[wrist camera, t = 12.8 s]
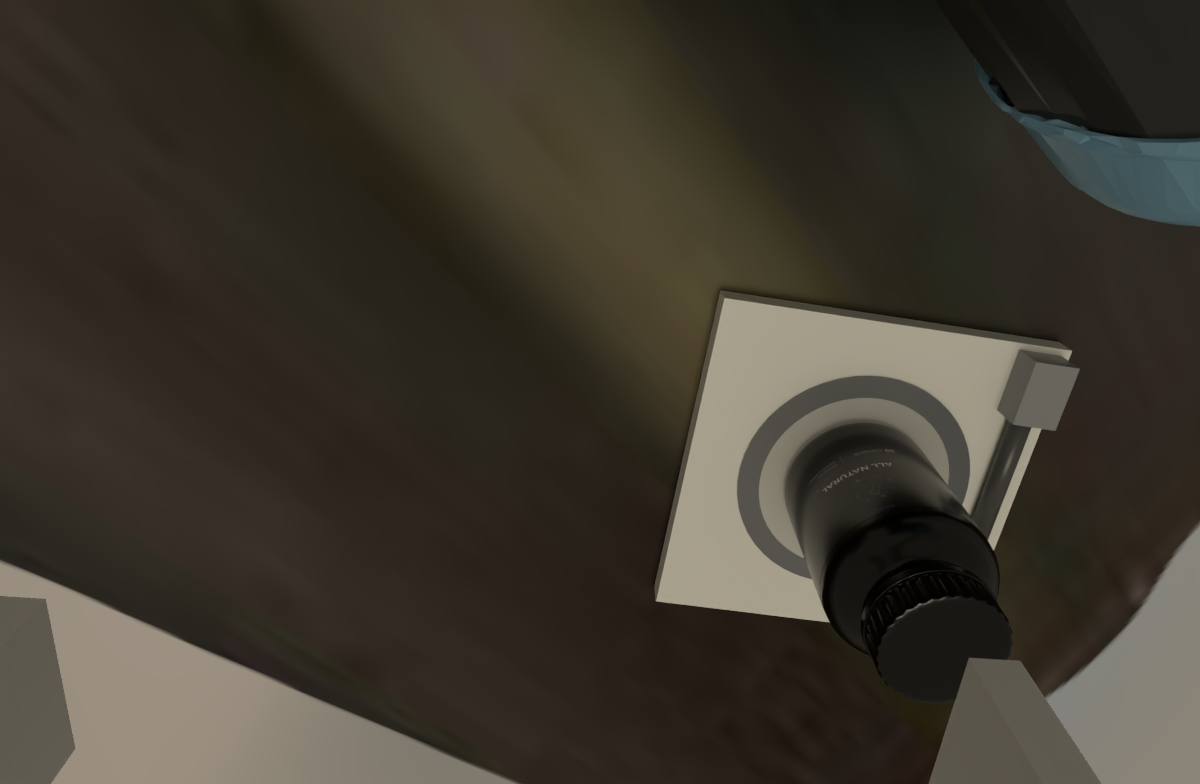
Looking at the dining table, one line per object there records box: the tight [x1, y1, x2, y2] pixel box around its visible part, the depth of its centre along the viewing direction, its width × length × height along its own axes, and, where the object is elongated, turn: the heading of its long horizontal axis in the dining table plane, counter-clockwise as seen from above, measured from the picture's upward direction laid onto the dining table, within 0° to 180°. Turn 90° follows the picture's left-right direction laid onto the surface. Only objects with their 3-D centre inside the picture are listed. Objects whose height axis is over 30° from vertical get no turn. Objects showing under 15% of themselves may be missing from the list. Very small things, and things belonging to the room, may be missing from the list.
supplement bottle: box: [785, 423, 1013, 704], centre depth 36 cm, size 7×7×12 cm
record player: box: [654, 290, 1080, 622], centre depth 42 cm, size 16×16×3 cm
